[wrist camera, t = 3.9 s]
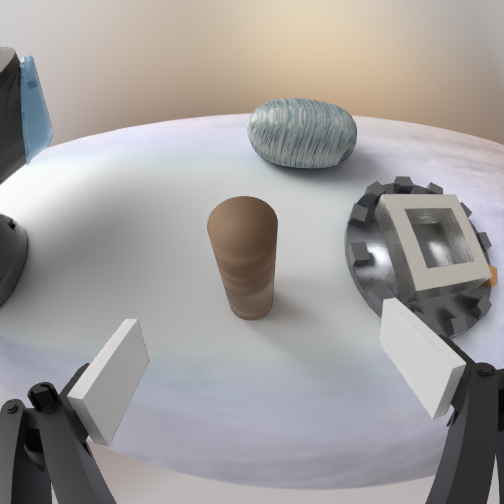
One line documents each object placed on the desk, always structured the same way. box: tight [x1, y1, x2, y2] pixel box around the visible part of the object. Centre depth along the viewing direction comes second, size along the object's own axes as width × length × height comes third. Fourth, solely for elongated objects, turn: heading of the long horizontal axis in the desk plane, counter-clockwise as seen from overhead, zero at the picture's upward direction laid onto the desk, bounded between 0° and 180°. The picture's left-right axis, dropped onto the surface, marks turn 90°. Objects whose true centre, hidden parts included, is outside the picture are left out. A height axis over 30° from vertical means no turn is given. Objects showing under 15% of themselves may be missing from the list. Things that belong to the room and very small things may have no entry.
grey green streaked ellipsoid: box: [247, 98, 357, 168], centre depth 33 cm, size 14×10×10 cm
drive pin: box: [207, 196, 278, 320], centre depth 21 cm, size 4×4×12 cm
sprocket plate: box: [345, 176, 497, 338], centre depth 26 cm, size 20×20×4 cm
